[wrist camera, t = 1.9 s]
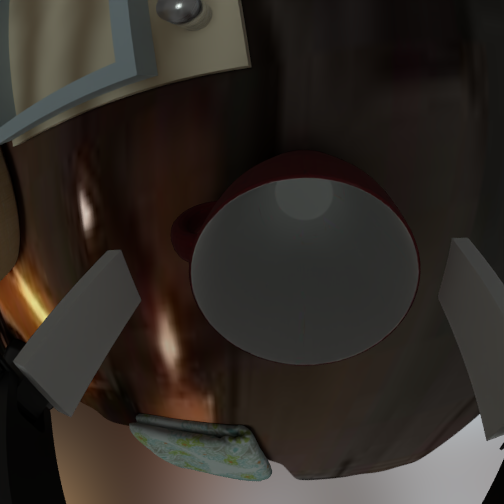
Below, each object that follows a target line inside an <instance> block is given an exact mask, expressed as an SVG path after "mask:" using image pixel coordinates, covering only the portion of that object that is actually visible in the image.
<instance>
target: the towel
mask: <svg viewBox="0 0 504 504" xmlns="http://www.w3.org/2000/svg"><path fill="white" fill-rule="evenodd" d="M136 420H137V422H138V423H130V424H129V426H130V430H131V432H132V434H133V435H134V436H135V437H136V438H137V439H138V440H139V441H140V442H141V443H142V444H143V445H145V446H146V447H147V448H149V449H150V450H151V451H152V452H153V453H155V454H156V455H157V456H159V457H160V458H162V459H163V460H165V461H167V462H169V463H171V464H173V465H176V466H178V467H181V468H187V469H193V470H197V471H201V472H205V473H209V474H214V475H218V476H223V477H228V478H233V479H239V480H247V481H261V480H264V479H268V478H269V477H270V476H271V474H272V469H271V466H270V464H269V462H268V460H267V458H266V457H265V455H264V453H263V452H262V450H261V449H260V447H259V445H258V443H257V441H256V439H255V437H254V435H253V433H252V432H251V431H250V430H249V429H248V428H247V427H245V426H243V425H238V426H235V425H223V424H214V423H204V422H195V421H187V420H180V419H173V418H166V417H160V416H155V415H149V414H138V415H137V416H136Z"/></svg>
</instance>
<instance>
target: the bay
mask: <svg viewBox="0 0 504 504" xmlns="http://www.w3.org/2000/svg"><path fill="white" fill-rule="evenodd" d="M9 2H10V0H0V145H1V144H4V143H6V142H9V141H11V140H14V139H15V138H17V137H19V136H20V135H22V134H24V133H25V132H27V131H29V130H31V129H32V128H34V127H36V126H38V125H39V124H41V123H43V122H45V121H47V120H49V119H51V118H53V117H55V116H57V115H59V114H61V113H63V112H65V111H67V110H69V109H71V108H73V107H75V106H77V105H80V104H82V103H84V102H86V101H89V100H91V99H93V98H96V97H98V96H101V95H103V94H106V93H108V92H111V91H113V90H116V89H119V88H121V87H124V86H127V85H130V84H133V83H136V82H139V81H142V80H145V79H148V78H151V77H154V76H158V72H157V65H156V59H155V52H154V45H153V38H152V31H151V24H150V16H149V7H148V0H109V10H110V21H111V30H112V39H113V47H114V55H115V63H113V64H110V65H108V66H106V67H103V68H101V69H99V70H97V71H94V72H92V73H90V74H88V75H86V76H84V77H82V78H80V79H78V80H76V81H74V82H72V83H70V84H68V85H66V86H64V87H63V88H61V89H59V90H57V91H55V92H54V93H52V94H50V95H48V96H47V97H45V98H43V99H42V100H40V101H38V102H37V103H35V104H34V105H32V106H30V107H29V108H27V109H26V110H24V111H23V112H21V113H20V114H18V115H17V116H16V111H15V104H14V98H13V90H12V82H11V72H10V59H9Z"/></svg>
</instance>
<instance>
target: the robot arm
mask: <svg viewBox="0 0 504 504" xmlns="http://www.w3.org/2000/svg"><path fill="white" fill-rule="evenodd" d="M438 299H439V301H440V303H441V305H442V308H443V310H444V312H445V314H446V317H447V319H448V321H449V324H450V326H451V329H452V331H453V333H454V336H455V338H456V341H457V344H458V346H459V349H460V351H461V354H462V357H463V360H464V362H465V365H466V368H467V371H468V374H469V377H470V380H471V383H472V387H473V390H474V393H475V397H476V400H477V404H478V407H479V411H480V415H481V418H482V423H483V427H484V431H485V436H486V440H487V441H488V440H490V439H493V438H496V437H499V436H501V435H504V285H503V283H502V282H501V280H500V279H499V277H498V276H497V275H496V273H495V272H494V271H493V269H492V268H491V266H490V265H489V264H488V262H487V261H486V260H485V259H484V257H483V256H482V255H481V253H480V252H479V251H478V250H477V248H476V247H475V246H474V245H473V243H472V242H471V241H470V240H469V239H468V238H452V241H451V245H450V250H449V255H448V259H447V263H446V268H445V272H444V275H443V279H442V283H441V287H440V290H439V294H438ZM140 302H141V298H140V296H139V294H138V291H137V289H136V287H135V284H134V282H133V279H132V277H131V274H130V272H129V269H128V267H127V264H126V262H125V259H124V257H123V254H122V251H121V250H108V251H107V252H106V253H105V254H104V255H103V256H102V257H101V258H100V259H99V260H98V261H97V262H96V263H95V264H94V265H93V266H92V267H91V268H90V269H89V271H88V272H87V273H86V274H85V275H84V276H83V277H82V278H81V279H80V280H79V281H78V282H77V283H76V285H75V286H74V287H73V288H72V289H71V290H70V291H69V292H68V294H67V295H66V296H65V297H64V298H63V299H62V300H61V302H60V303H59V304H58V305H57V306H56V307H55V309H54V310H53V311H52V312H51V313H50V314H49V316H48V317H47V318H46V319H45V321H44V322H43V323H42V324H41V325H40V327H39V328H38V329H37V330H36V332H35V333H34V334H33V335H32V337H31V338H30V339H29V341H28V342H27V343H26V344H25V343H23V342H21V341H19V340H16V339H13V340H12V341H11V342H10V343H9V345H8V346H7V347H6V350H5V353H4V356H3V357H2V355H1V354H0V504H66V501H65V497H64V493H63V490H62V485H61V481H60V476H59V471H58V465H57V460H56V454H55V447H54V440H53V432H52V423H51V413H50V410H51V409H52V408H53V407H54V408H55V409H56V410H57V411H59V412H61V413H63V414H66V415H68V416H70V417H71V416H72V415H73V413H74V411H75V409H76V407H77V405H78V403H79V402H80V400H81V398H82V396H83V395H84V393H85V391H86V389H87V388H88V386H89V384H90V382H91V381H92V379H93V377H94V376H95V374H96V372H97V370H98V369H99V367H100V365H101V364H102V362H103V360H104V359H105V357H106V355H107V354H108V352H109V350H110V349H111V347H112V346H113V344H114V342H115V341H116V339H117V338H118V336H119V334H120V333H121V331H122V330H123V328H124V326H125V325H126V323H127V322H128V320H129V319H130V317H131V316H132V314H133V312H134V311H135V309H136V308H137V306H138V305H139V303H140ZM502 449H504V443H503V444H502V446H501V447H500V450H502ZM482 504H504V460H503V462H502V464H501V466H500V469H499V471H498V473H497V475H496V477H495V479H494V481H493V483H492V485H491V487H490V489H489V491H488V493H487V495H486V497H485V499H484V501H483V502H482Z"/></svg>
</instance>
